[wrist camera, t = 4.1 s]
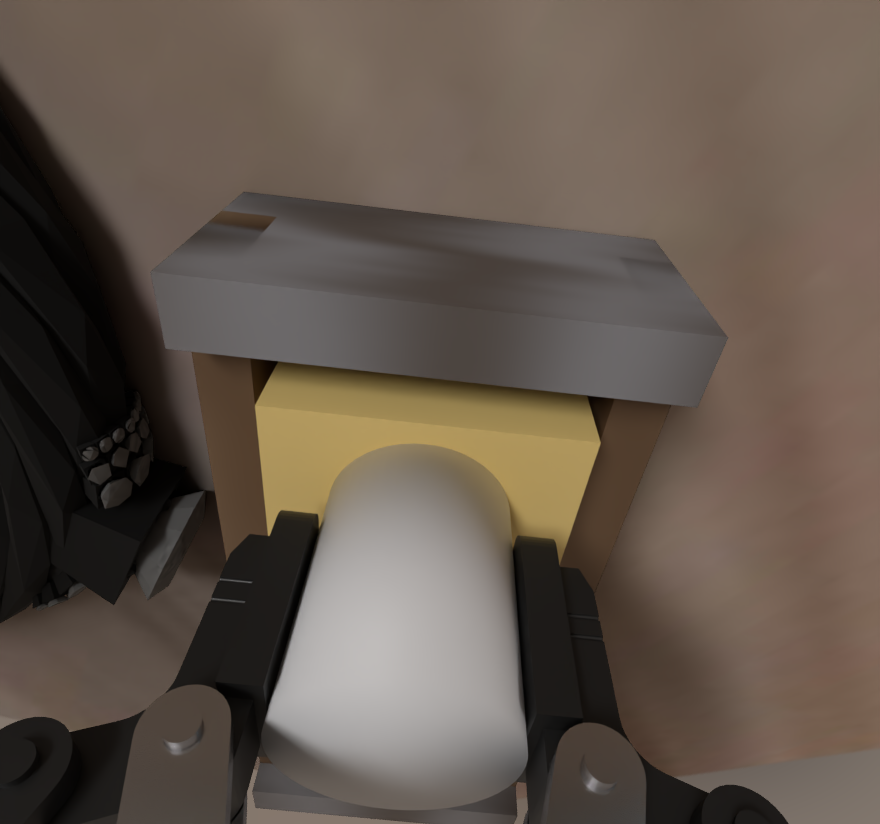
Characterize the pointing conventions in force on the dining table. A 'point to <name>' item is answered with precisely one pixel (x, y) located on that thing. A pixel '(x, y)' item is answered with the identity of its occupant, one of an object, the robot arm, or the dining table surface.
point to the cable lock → (71, 421)
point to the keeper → (411, 575)
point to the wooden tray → (431, 354)
